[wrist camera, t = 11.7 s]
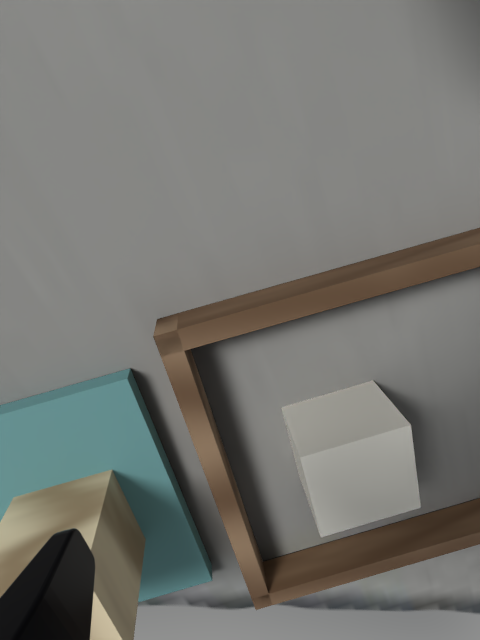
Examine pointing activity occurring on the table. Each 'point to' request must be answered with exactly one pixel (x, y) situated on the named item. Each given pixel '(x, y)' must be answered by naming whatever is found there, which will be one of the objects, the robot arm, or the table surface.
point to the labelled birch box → (100, 535)
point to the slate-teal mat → (105, 468)
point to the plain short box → (353, 457)
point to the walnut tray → (175, 349)
